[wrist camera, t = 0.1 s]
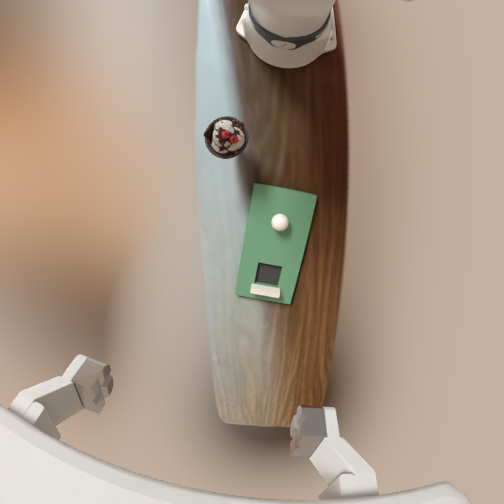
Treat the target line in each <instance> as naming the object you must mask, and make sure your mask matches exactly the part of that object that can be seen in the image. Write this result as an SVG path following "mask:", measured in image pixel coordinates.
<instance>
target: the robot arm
mask: <svg viewBox="0 0 504 504" xmlns="http://www.w3.org/2000/svg"><path fill="white" fill-rule="evenodd" d="M401 1H406V2H410V1H414V0H401ZM334 3H335V0H249V2H248V4H246V5H245V7H244V12H243V14H242V16H241V18H240V20H239V22H238V25H237V27H236V31H237V33H238V34H239V35H240V36H241V37H243V38H244V39H245V40H247V42H248V43H249V45H250V47H251V49H252V50H253V52H254V53H255V54H256V55H257V56H258V57H259V58H260V59H261V60H263V61H264V62H266V63H268V64H270V65H273V66H276V67H280V68H297V67H302V66H305V65H307V64H309V63H311V62H312V61H314V60H315V59H316V58H317V57H318V56H320V55H321V54H323V53H326V52H329V51H332V50H334V49H335V48H336V45H337V41H336V30H335V20H334V10H333V5H334ZM330 39H332V40H330ZM110 371H111V369H110V366H109V365H107V364H104V363H102V362H99V361H97V360H94V359H91V358H89V357H86V356H84V355H81V354H80V355H78V356H76V358H75V359H74V360H73V362H72V363H71V365H70V366H69V367H68V368H67V370H66V371H65V373H64V374H63V376H62V377H60V376H57V377H55V378H53V379H50V380H48V381H45V382H43V383H40V384H38V385H35V386H33V387H30V388H28V389H25V390H23V391H20V393H19V394H18V395H17V397H16V398H15V399H14V401H13V402H12V403H11V405H10V406H9V408H8V409H6V408H5V407H4V406H2V405H1V404H0V504H470V501H469V498H468V497H467V495H466V494H464V493H463V492H462V491H461V490H459V489H458V488H457V487H455V486H454V485H453V484H451V483H450V482H447V481H444V482H439V483H435V484H432V485H428V486H424V487H420V488H415V489H410V490H405V491H400V492H395V493H389V494H383V495H379V493H378V487H377V481H376V476H375V471H374V470H373V469H372V468H371V467H370V466H369V465H368V464H367V463H366V462H365V461H364V460H363V458H362V457H361V456H360V455H359V454H358V453H357V452H356V451H355V450H354V449H353V448H352V447H351V446H350V445H349V444H348V442H347V441H346V440H345V439H344V438H340V435H339V428H338V421H337V415H336V409H335V408H334V407H322V406H306V405H300V406H298V408H297V414H296V415H295V416H294V417H293V419H292V422H291V428H290V435H291V437H292V438H293V440H292V442H291V444H290V449H291V451H290V453H291V456H295V457H310V460H311V461H312V463H313V464H314V466H315V467H316V469H317V470H318V472H319V473H320V475H321V476H322V478H323V479H324V480H325V482H326V483H327V485H328V486H329V487H328V488H327V489H326V490H324V491H323V492H322V493H321V494H320V495H319V500H280V499H263V498H252V497H244V496H236V495H228V494H222V493H216V492H210V491H205V490H199V489H195V488H190V487H186V486H181V485H177V484H173V483H169V482H166V481H162V480H158V479H154V478H151V477H148V476H145V475H142V474H139V473H136V472H133V471H130V470H127V469H124V468H121V467H119V466H116V465H113V464H111V463H108V462H106V461H103V460H101V459H98V458H96V457H93V456H91V455H89V454H87V453H84V452H82V451H80V450H78V449H76V448H74V447H72V446H70V445H67V444H66V443H64V442H62V441H60V440H59V439H60V437H61V436H60V433H59V432H58V430H57V428H56V427H55V426H56V425H58V424H59V423H61V422H63V421H64V420H66V419H68V418H69V417H70V416H72V415H74V414H76V413H77V412H79V411H80V410H82V409H84V408H86V409H88V410H91V411H94V412H96V413H100V412H101V410H102V408H103V407H104V405H105V400H104V398H106V397H108V396H110V393H111V391H112V388H113V378H112V376H111V375H110V374H109V373H110Z"/></svg>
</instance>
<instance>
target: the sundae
mask: <svg viewBox="0 0 504 504" xmlns="http://www.w3.org/2000/svg"><path fill="white" fill-rule="evenodd" d="M204 136H205V143H206V146H207V148H208V149H209V151H210V152H211V153H212V154H213V155H215V156H217V157H219V158H223V159H229V158H233V157H235V156H237V155H239V154H240V153H241V152H242V151H243V150H244V149H245V147H246V146H247V143H248V133H247V130H246V128H245V126H244V123H242V122H240V121H239V120H238V119H236V118H234V117H228V116H225V117H221V118H218V119H216V120H214V121H213V122H212V123H211V124H210V125H209V126H208V128H207V129H206V131H205V133H204Z"/></svg>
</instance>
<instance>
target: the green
mask: <svg viewBox="0 0 504 504" xmlns="http://www.w3.org/2000/svg"><path fill="white" fill-rule="evenodd" d="M316 200H317V195H316V194H311V193H306V192H301V191H296V190H292V189H286V188H281V187H276V186H271V185H265V184H260V183H254V187H253V192H252V198H251V204H250V210H249V216H248V221H247V227H246V233H245V239H244V245H243V251H242V257H241V263H240V269H239V275H238V281H237V287H236V293H235V295H239V296H245V297H250V298H256V299H261V300H267V301H273V302H279V303H285V304H290V303H291V299H292V296H293V292H294V288H295V284H296V281H297V277H298V273H299V269H300V265H301V262H302V258H303V254H304V250H305V246H306V242H307V238H308V234H309V229H310V225H311V221H312V217H313V213H314V208H315V204H316ZM276 214H284V215H285V216H286V217H287V218H288V221H289V224H288V227H287V228H286V229H285V230H283V231H277V230H275V229H274V228H273V227H272V224H271V221H272V218H273V217H274V216H275V215H276Z"/></svg>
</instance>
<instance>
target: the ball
mask: <svg viewBox="0 0 504 504" xmlns="http://www.w3.org/2000/svg"><path fill="white" fill-rule="evenodd" d="M271 224H272V227H273V228H274V229H275V230H277V231H283V230H285V229H286V228H287V227H288V224H289V221H288V218H287V217H286V216H285V215H284V214H276V215H275V216H274V217H273V218H272V221H271Z"/></svg>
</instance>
